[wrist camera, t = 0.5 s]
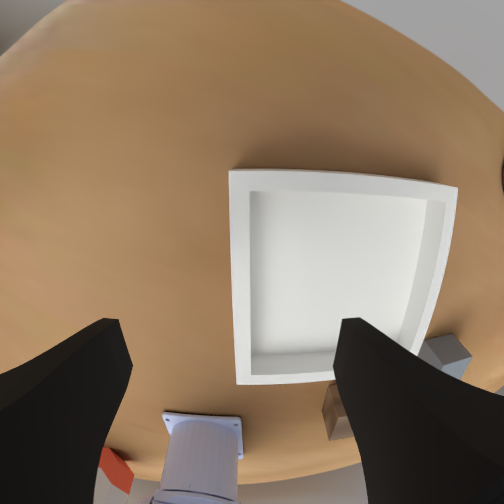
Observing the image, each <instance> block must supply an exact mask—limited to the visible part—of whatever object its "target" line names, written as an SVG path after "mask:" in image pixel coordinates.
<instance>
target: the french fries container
mask: <svg viewBox="0 0 504 504" xmlns="http://www.w3.org/2000/svg"><path fill="white" fill-rule="evenodd" d="M133 478H134V474H133V472H132V471H131V470H130V468H129V467H128V465H127V464H126V463H125V461H124V460H123V459H121V458H120V457H119V456H118V455H117V454H115V453H114V452H113V451H112V450H111V449H110V448H107V447H103V449H102V453H101V457H100V462H99V466H98V471H97V477H96V483H95V490H94V502H93V504H127V501H128V497H129V493H130V489H131V485H132V481H133Z"/></svg>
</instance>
